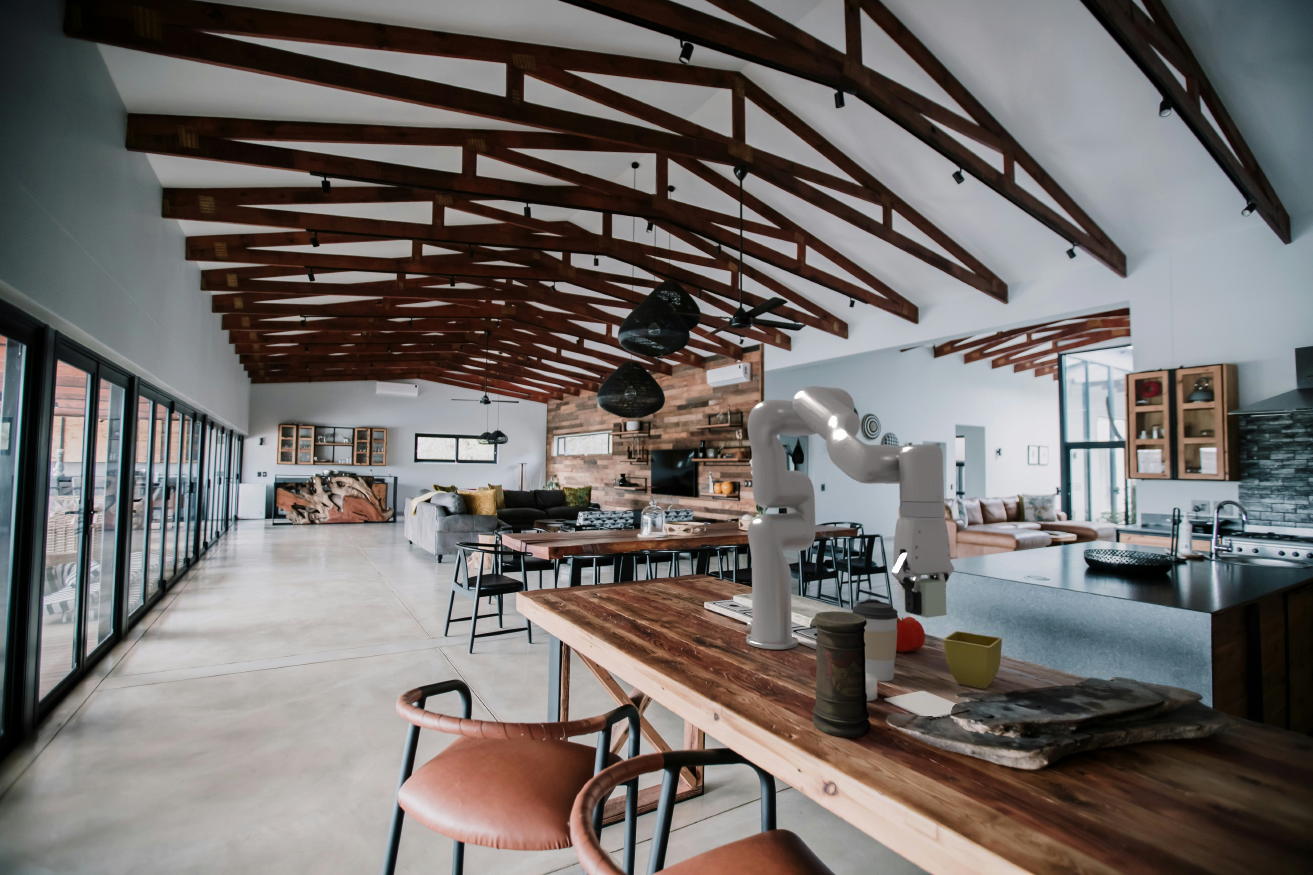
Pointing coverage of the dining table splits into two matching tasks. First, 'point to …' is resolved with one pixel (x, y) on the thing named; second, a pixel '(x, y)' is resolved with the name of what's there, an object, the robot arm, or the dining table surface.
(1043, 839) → the dining table surface
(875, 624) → the coffee cup
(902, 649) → the tomato
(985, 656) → the flower pot
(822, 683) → the container
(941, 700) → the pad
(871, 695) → the white rounded upright piece
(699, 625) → the dining table surface
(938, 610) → the sage block
